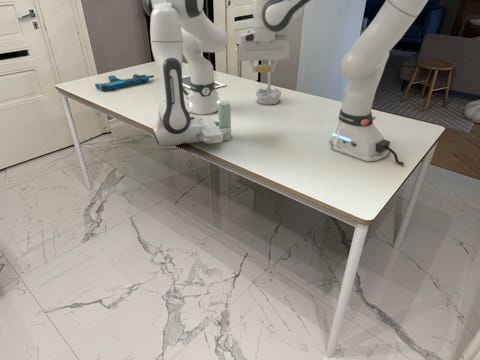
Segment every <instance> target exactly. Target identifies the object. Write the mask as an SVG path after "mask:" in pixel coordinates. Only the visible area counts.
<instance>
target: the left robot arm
mask: <svg viewBox="0 0 480 360" xmlns="http://www.w3.org/2000/svg"><path fill="white" fill-rule="evenodd" d="M204 1H205V0H141V3H142V7H143V10H144V11H145V13H146V14H147V15H148V16H149V17H150V22H149V26H150V27H149V37H150V46H151V47H150V48H151V52H152V56H153V60H154V62H155V64H156V66H157V68H158V70H159V72H160V74H161V76H162V80H163V84H164V93H165V99H164V100H163V101H162V102H161V103H160V105H159V107H158V114H157V119H156V122H155V125H154V126H153V128H152V134H153V136H154V138H155V141H156V143H157V145H159V146H160V147H174V146H180V145H182V144H193V143H200V142H203V143H205V144H220V143H222V142H223V141H224V140H223V134H225V133H227V132H230V128H229V127H225V128H224V129H219V120H213V119H212V117H211V116H210V115H211V114H213V113H216V112H217V111H218V106H219V102H221V101H220V100H219V99H220V97H219V93H218V91H217V90H216V88H215V81H216V80H215V79H214V75H215V74H214V66H213V64H212V62H211V61H210V60H208V59H207V58H205V57H204V56H203V54H202V53H219V52H223V51H224V50H225V49H226V48H227V46H228V41H229V37H228V33H227V32H226V30H225V29H224V28H223V27H220V26H218V25H216V23H214V22H212V21H211V20H210V18H208V16H207V15H206V14H205V12H204ZM183 58H184V59H185V60H186V62H187V64H188V69H189V75H190V77H191V82H190V89H189V91H188V93H187V91H186V89H185V87H184V86H183V83H182V77H183ZM184 94H185V96H184ZM190 113H191V114H196V115H197V116H192V115H191V114H190ZM198 115H199V116H198Z"/></svg>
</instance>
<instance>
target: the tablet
mask: <svg viewBox="0 0 480 360" xmlns="http://www.w3.org/2000/svg"><path fill="white" fill-rule="evenodd" d="M214 81H215V89H219V88H223V87H226V86H227V85H226V84H225V83H222V82H219V81H217V80H214ZM190 82H191V77H190V74H188V75H182V83H183V88H186V89H189V90H190Z"/></svg>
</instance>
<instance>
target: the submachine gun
mask: <svg viewBox="0 0 480 360" xmlns="http://www.w3.org/2000/svg"><path fill="white" fill-rule="evenodd" d="M153 78H155V76H154V74H152V75H147V74H142V75H140V74H138V73H134V74H133V75H132V77H130V78H125V79H120V78H118V77H117V76H116V75H108V80H109V81H110V82H105V83H104V82H103V83H97V82H96V83H94V86H95V88H97V89H98V90H100V91H107V90H113V91H114V90H115V89H117V88H122V87H126V86H130V85H136V84H140V83H147V82H148V81H150V79H153Z"/></svg>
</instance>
